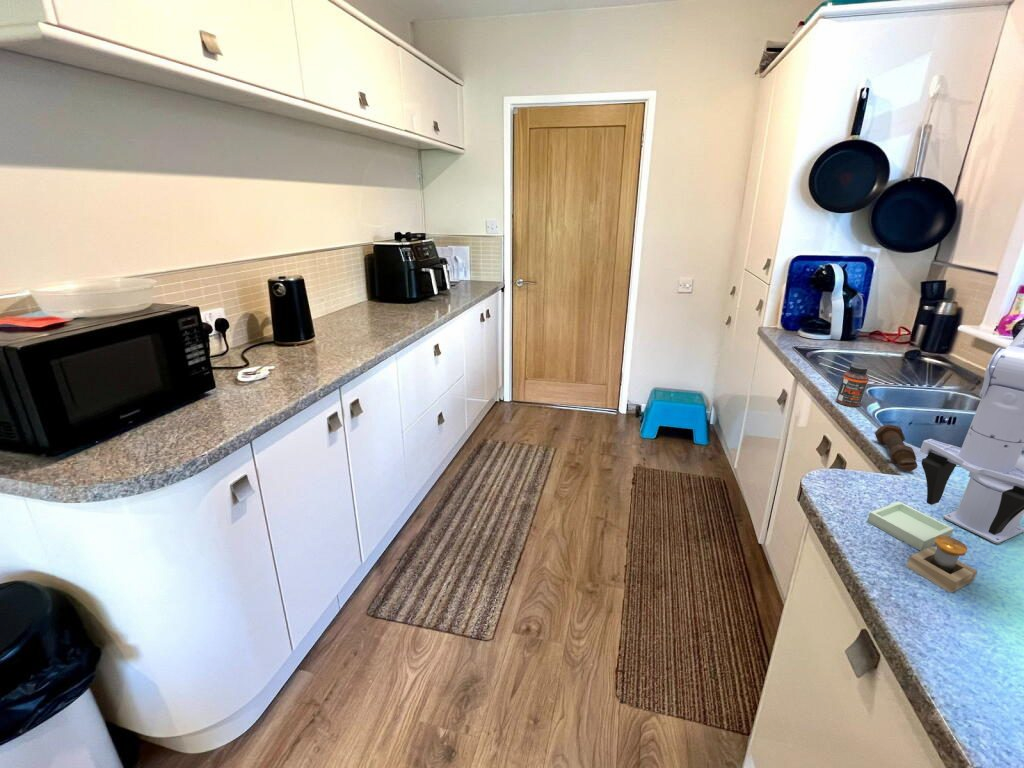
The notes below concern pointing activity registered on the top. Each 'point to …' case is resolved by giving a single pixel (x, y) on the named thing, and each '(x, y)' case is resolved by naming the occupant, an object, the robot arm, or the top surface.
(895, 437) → the bolt
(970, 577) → the collar block
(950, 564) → the pin
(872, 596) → the top surface
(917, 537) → the parts tray
